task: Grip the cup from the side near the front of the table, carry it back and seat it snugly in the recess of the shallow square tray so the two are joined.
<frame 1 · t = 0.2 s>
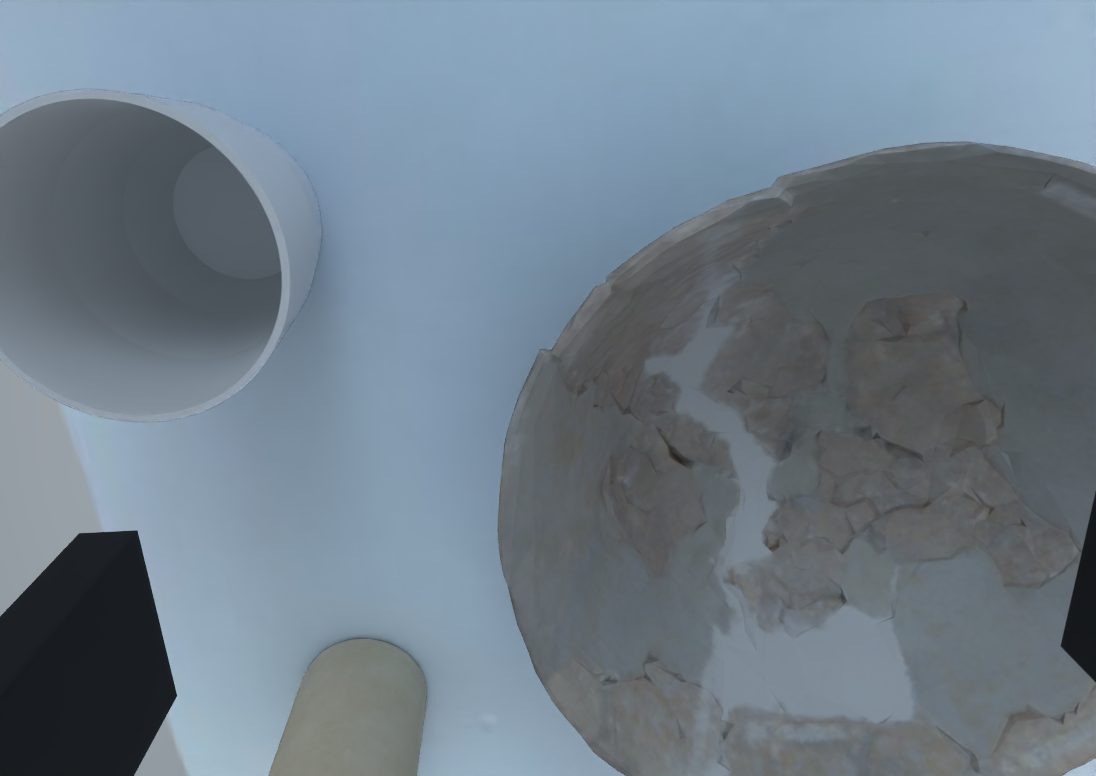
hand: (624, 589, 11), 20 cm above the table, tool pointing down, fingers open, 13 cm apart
ceramic bowl: (782, 416, 33), on the table
candle: (366, 685, 37), on the table
cup: (246, 210, 29), on the table
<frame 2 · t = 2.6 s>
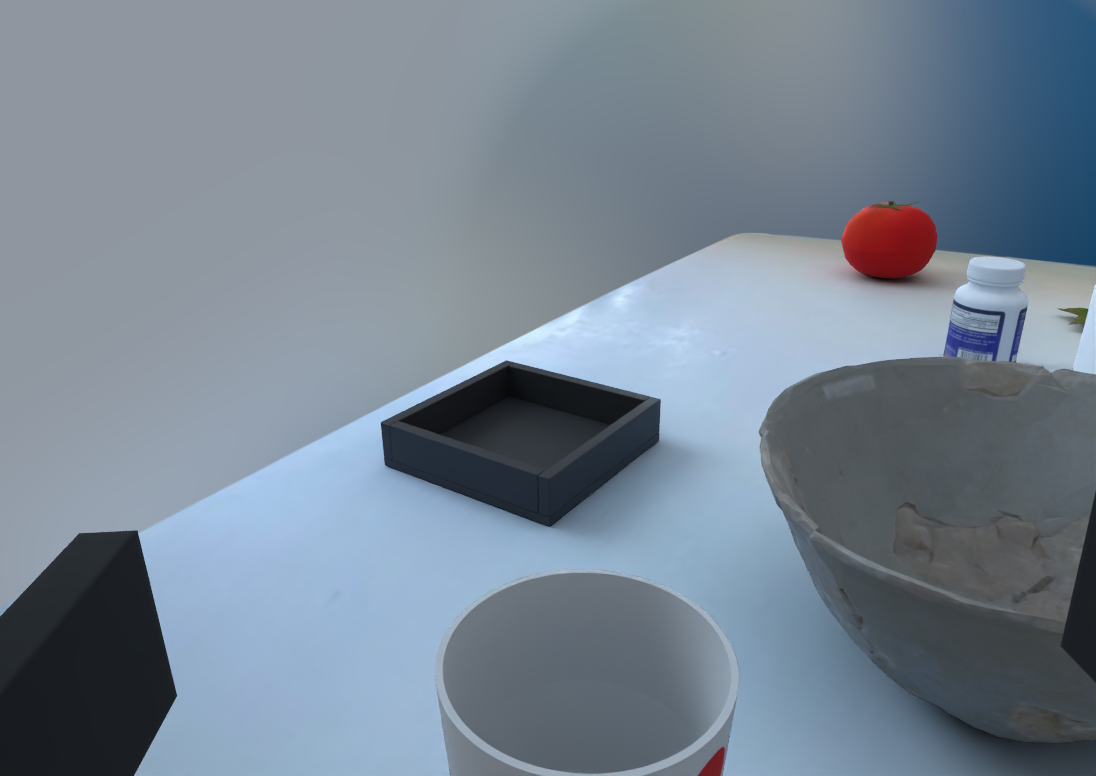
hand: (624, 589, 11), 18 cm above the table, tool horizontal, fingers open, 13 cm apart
tomato: (881, 277, 94), on the table
pill bottle: (976, 369, 68), on the table
ceramic bowl: (997, 660, 36), on the table
shallow square tray: (525, 452, 55), on the table
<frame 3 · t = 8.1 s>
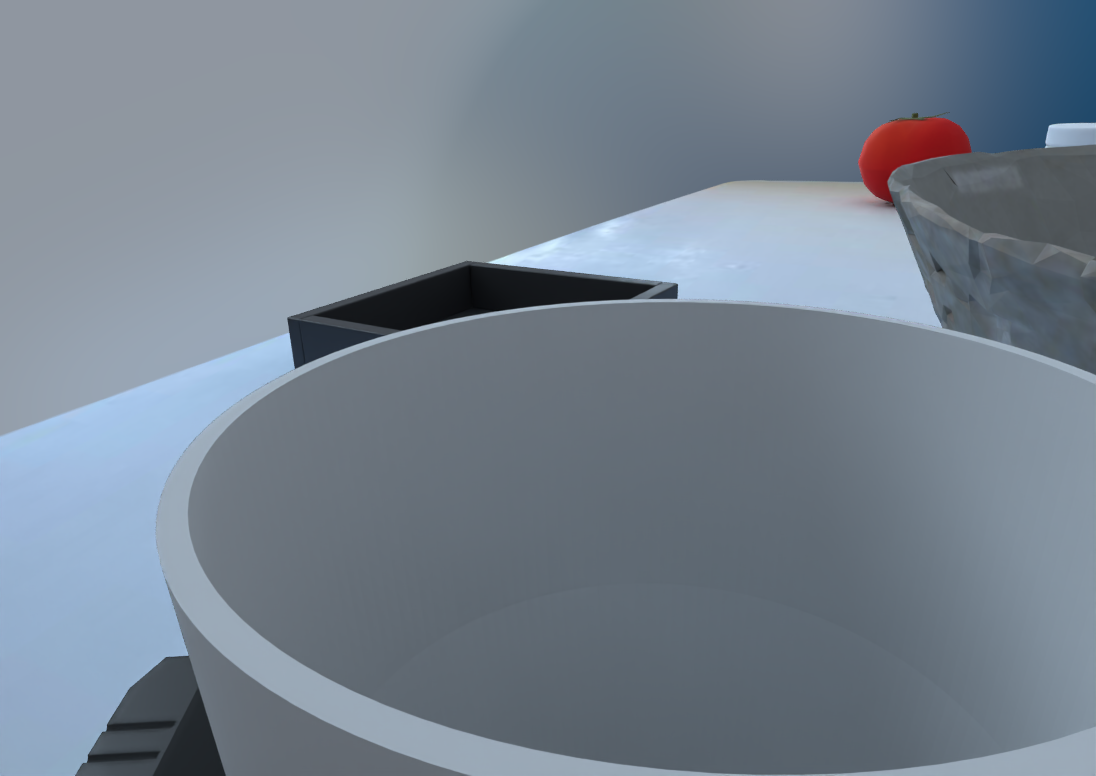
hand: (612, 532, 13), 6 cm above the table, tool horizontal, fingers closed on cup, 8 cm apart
tomato: (907, 205, 81), on the table
pill bottle: (1059, 269, 54), on the table
shallow square tray: (495, 362, 40), on the table
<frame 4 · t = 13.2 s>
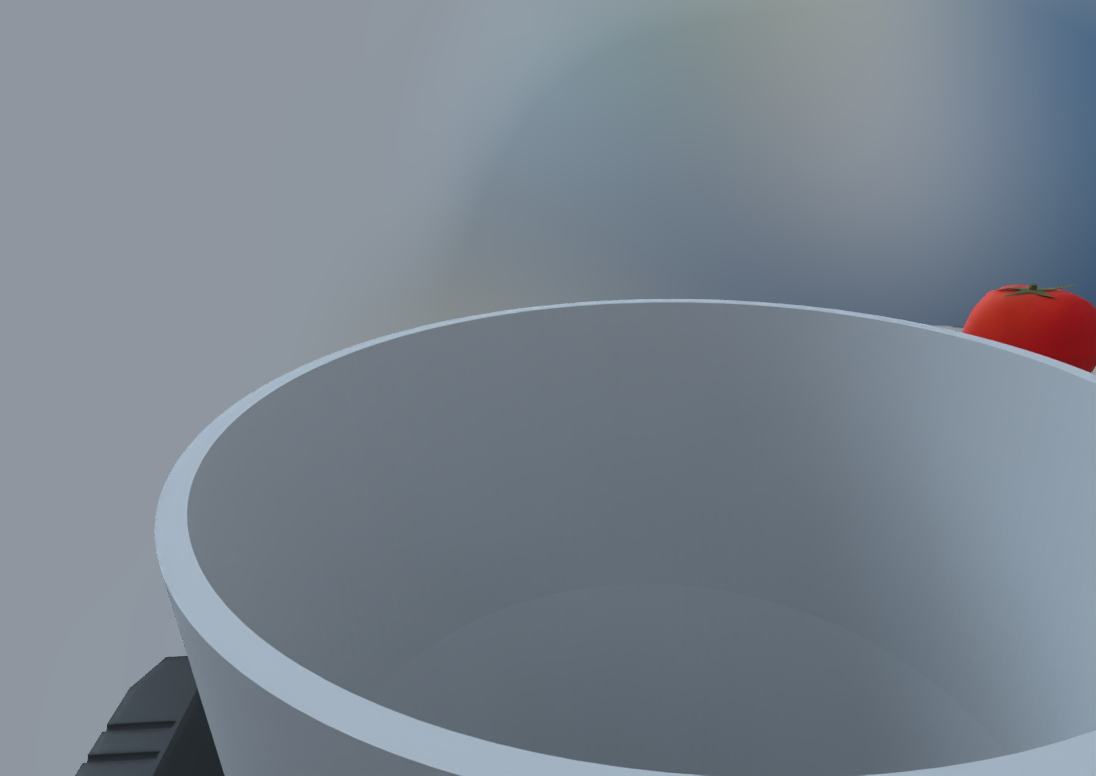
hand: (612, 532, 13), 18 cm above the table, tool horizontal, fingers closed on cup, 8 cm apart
tomato: (1018, 389, 66), on the table
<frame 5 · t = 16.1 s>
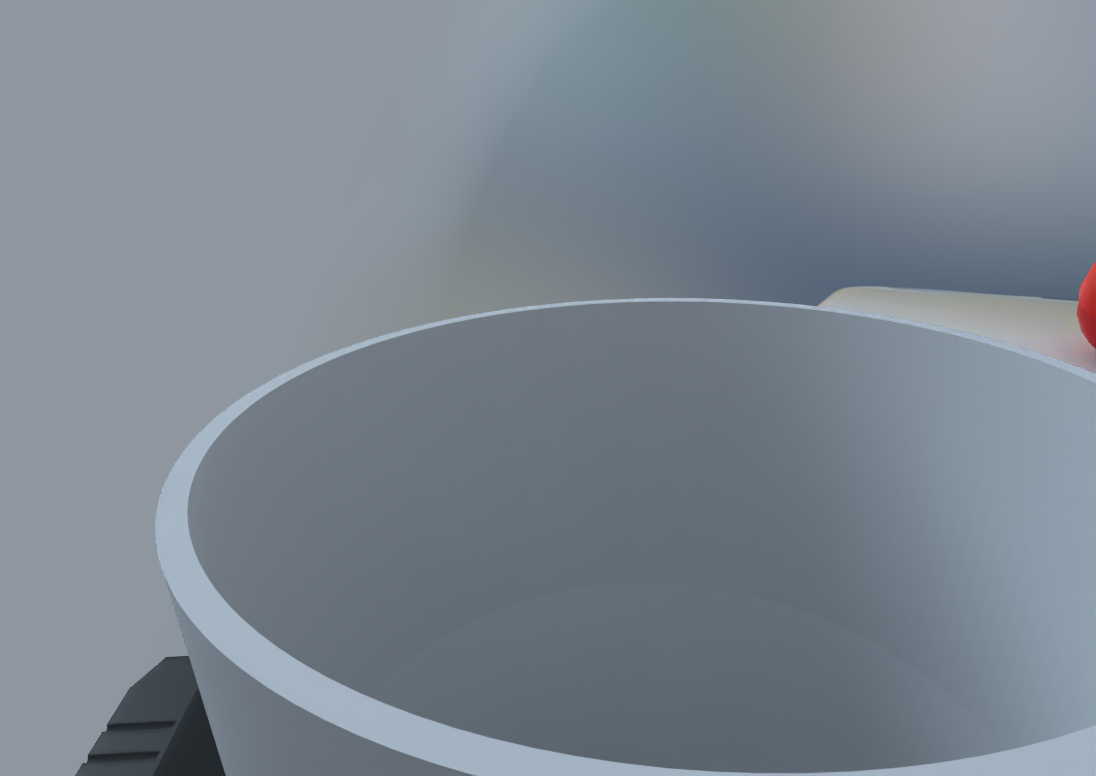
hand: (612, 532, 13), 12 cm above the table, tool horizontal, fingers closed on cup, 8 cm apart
when the fingers open (7 cm above the table, at t = 18.1 s): cup stays where it is, resting on shallow square tray.
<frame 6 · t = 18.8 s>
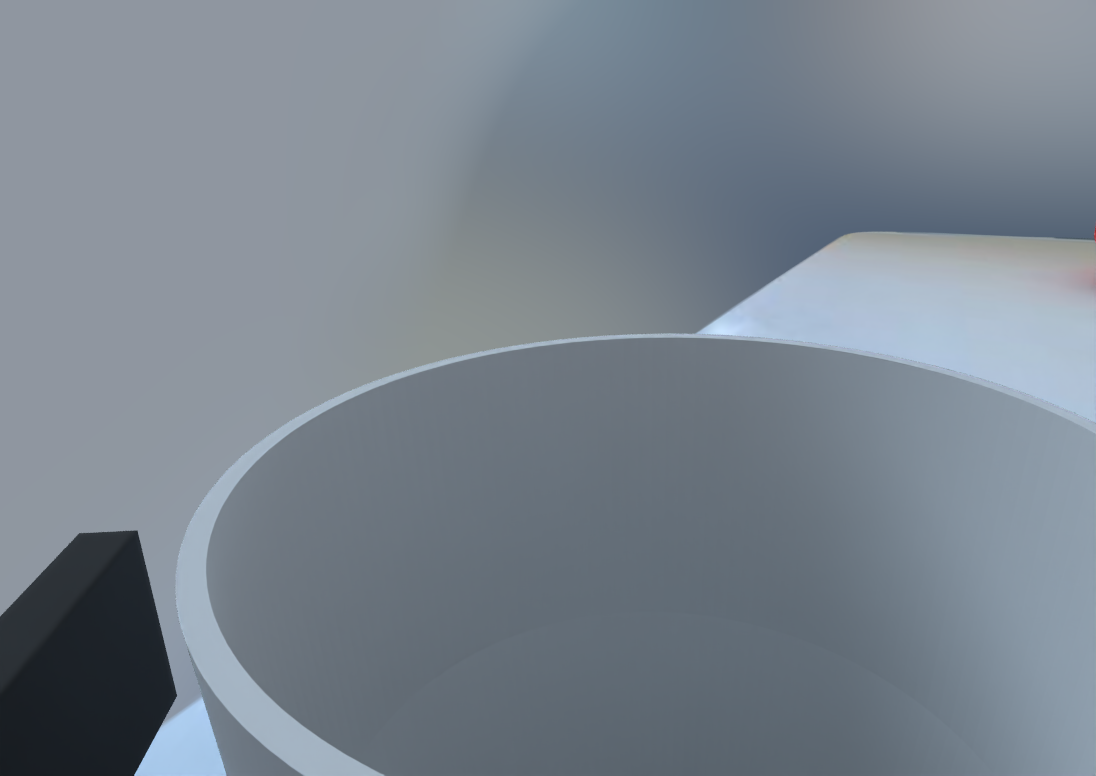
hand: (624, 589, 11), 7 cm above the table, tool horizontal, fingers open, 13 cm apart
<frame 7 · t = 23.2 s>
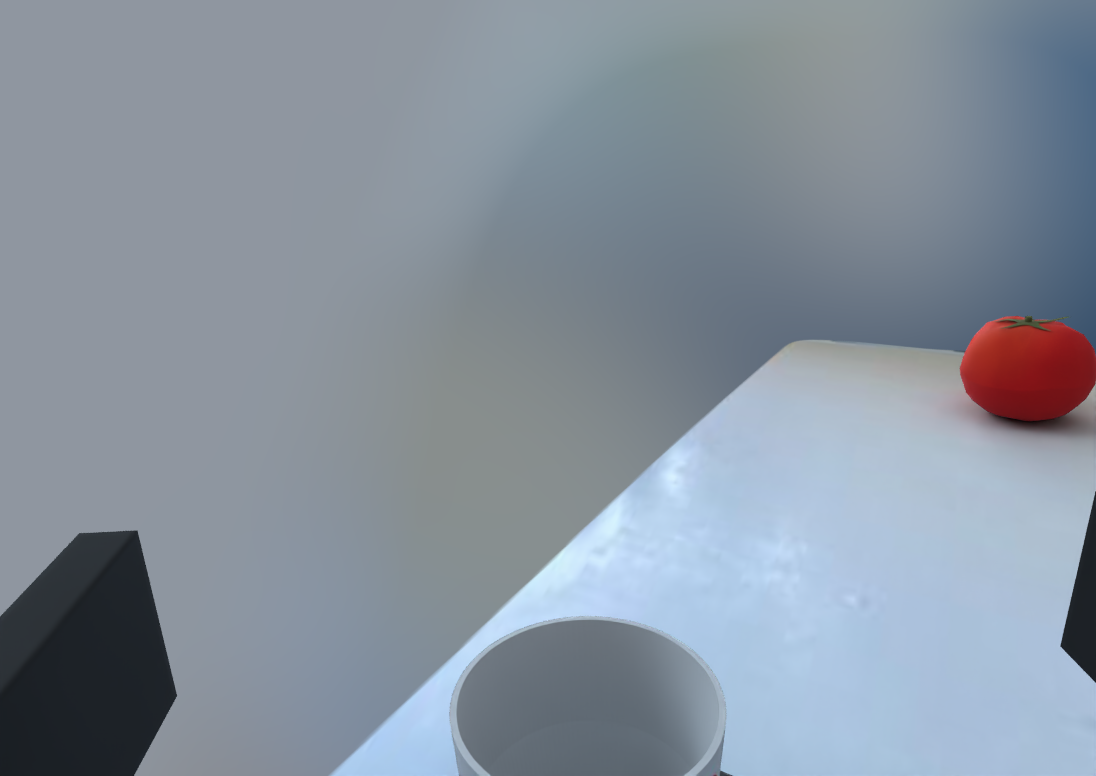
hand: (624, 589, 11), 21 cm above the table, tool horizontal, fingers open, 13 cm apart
tomato: (1015, 415, 69), on the table
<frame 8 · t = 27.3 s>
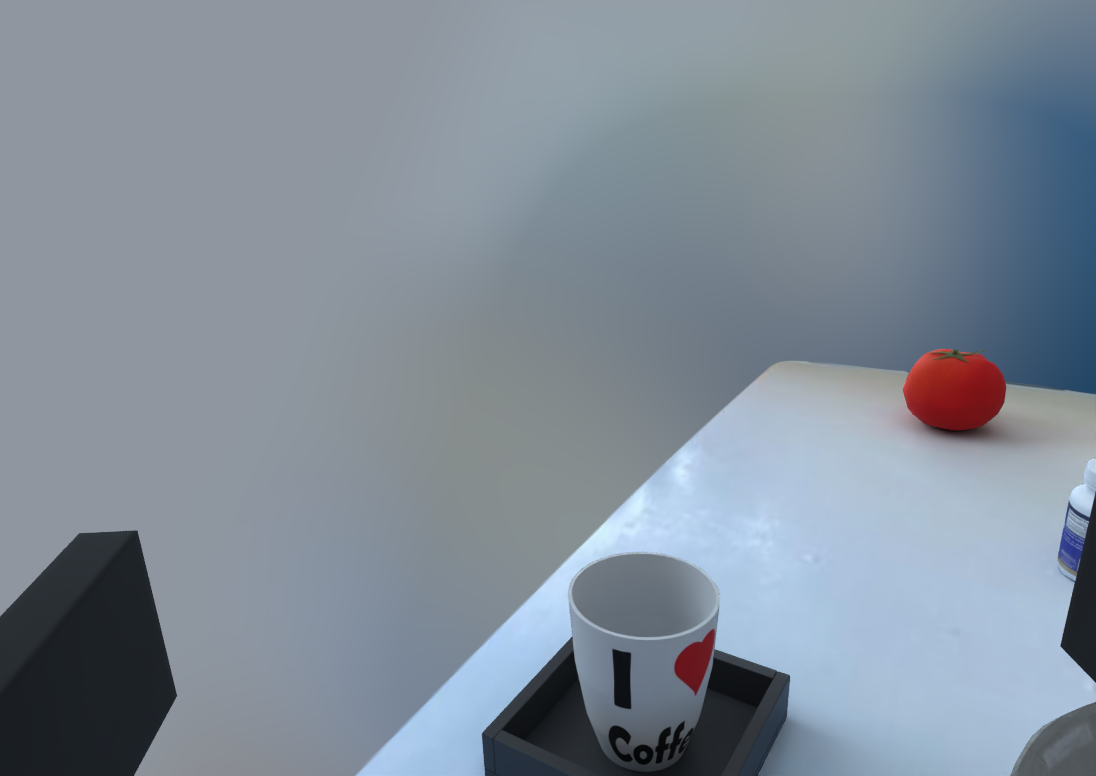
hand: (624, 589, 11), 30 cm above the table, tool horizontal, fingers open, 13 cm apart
tomato: (946, 426, 89), on the table
pill bottle: (1095, 575, 63), on the table
shallow square tray: (641, 745, 48), on the table
cup: (642, 740, 48), resting on shallow square tray
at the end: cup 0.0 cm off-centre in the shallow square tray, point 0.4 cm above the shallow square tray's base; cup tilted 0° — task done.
